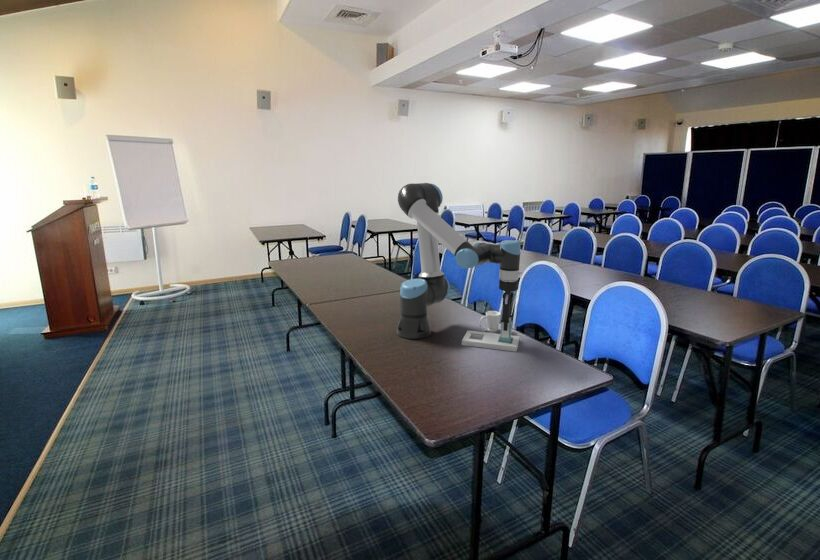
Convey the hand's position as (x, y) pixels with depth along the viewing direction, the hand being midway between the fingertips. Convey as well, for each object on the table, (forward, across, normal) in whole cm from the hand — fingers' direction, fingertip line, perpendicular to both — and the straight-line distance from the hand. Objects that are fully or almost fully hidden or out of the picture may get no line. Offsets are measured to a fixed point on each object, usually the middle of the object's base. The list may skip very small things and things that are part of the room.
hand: (505, 334), depth 171 cm
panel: (+4, 0, +6) cm, 7 cm away
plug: (+4, 0, 0) cm, 4 cm away
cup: (+4, +14, +9) cm, 17 cm away
